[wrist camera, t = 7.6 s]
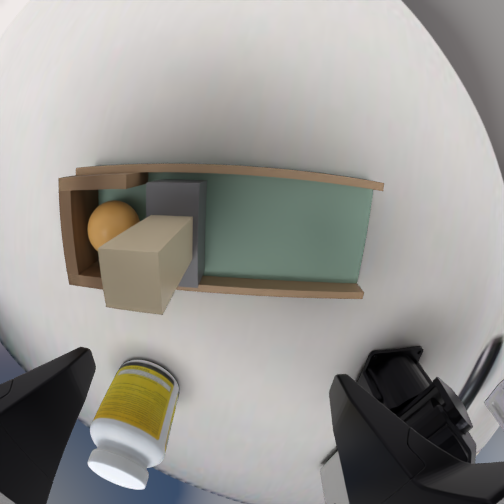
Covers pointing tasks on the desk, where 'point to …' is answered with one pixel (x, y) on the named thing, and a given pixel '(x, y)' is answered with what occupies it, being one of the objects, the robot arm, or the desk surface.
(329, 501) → the stereo radio cassette player
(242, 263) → the pitch
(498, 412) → the game console
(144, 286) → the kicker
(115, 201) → the ball
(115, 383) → the pill bottle
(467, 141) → the desk surface
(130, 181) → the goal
